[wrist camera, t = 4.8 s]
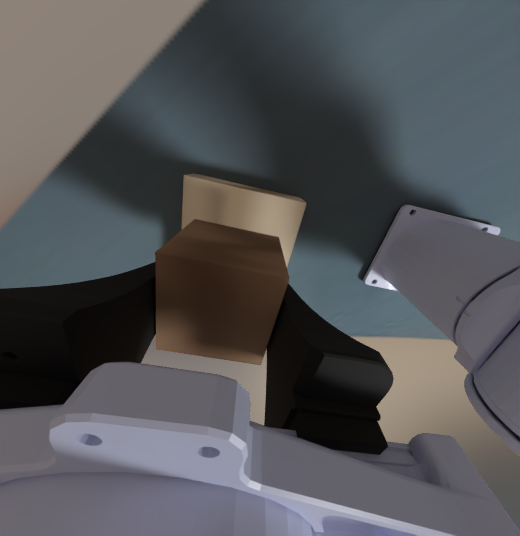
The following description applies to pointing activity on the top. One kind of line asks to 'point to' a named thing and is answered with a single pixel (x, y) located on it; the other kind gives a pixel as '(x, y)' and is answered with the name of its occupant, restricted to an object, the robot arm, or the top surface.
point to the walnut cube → (219, 292)
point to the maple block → (243, 208)
